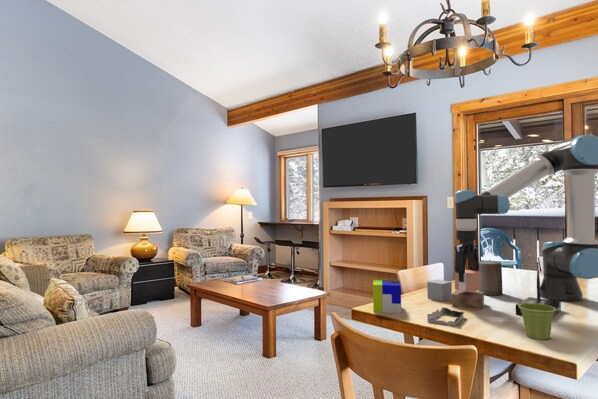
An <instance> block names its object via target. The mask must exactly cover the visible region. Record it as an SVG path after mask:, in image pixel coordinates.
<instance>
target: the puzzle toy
mask: <svg viewBox="0 0 598 399" xmlns="http://www.w3.org/2000/svg"><path fill="white" fill-rule="evenodd" d="M401 286H402V285H401V282H400V280H394V279H392V280H390V279H389V280H386V279H381V280H380V279H378V280H377V279H374V280H373V282H372V300H373V301H372V302H373V303H372V304H373V305H372V308H373V313H374V312H375V313H395V314H396V313H399V314H401V313H402V287H401Z"/></svg>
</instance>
